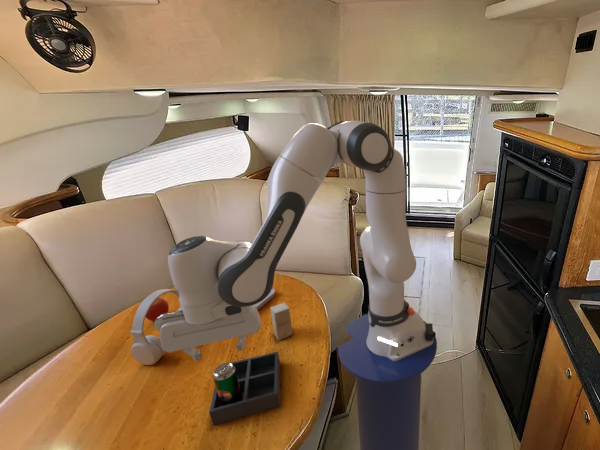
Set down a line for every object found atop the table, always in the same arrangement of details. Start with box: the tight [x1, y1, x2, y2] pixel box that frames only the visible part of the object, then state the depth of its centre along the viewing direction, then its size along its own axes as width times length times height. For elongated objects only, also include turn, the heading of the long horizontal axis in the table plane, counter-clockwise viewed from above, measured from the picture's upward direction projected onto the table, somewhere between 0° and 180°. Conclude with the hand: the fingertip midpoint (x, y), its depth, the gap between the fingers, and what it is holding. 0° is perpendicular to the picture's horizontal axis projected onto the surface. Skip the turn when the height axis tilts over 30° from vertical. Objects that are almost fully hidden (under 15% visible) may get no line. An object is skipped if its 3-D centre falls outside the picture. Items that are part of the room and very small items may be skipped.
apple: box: [145, 297, 170, 322], centre depth 115 cm, size 8×8×8 cm
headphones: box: [129, 288, 182, 366], centre depth 100 cm, size 20×8×19 cm, turn 173°
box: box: [269, 302, 293, 341], centre depth 106 cm, size 5×4×11 cm
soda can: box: [212, 362, 243, 406], centre depth 80 cm, size 5×5×12 cm
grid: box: [208, 351, 281, 426], centre depth 86 cm, size 16×16×5 cm
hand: (220, 353), depth 76 cm, fingers open, 8 cm apart
